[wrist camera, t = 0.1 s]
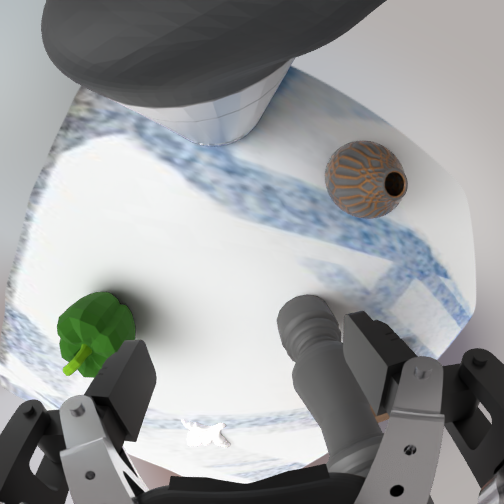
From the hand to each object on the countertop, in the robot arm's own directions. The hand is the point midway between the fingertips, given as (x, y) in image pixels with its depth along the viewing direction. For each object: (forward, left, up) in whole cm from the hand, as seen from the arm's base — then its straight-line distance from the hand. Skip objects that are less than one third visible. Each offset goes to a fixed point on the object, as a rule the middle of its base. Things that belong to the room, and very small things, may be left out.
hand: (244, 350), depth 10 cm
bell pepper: (+7, -16, -18) cm, 25 cm away
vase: (-4, +12, -18) cm, 22 cm away
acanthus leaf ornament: (+31, -10, -18) cm, 37 cm away
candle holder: (+11, +6, -18) cm, 21 cm away
